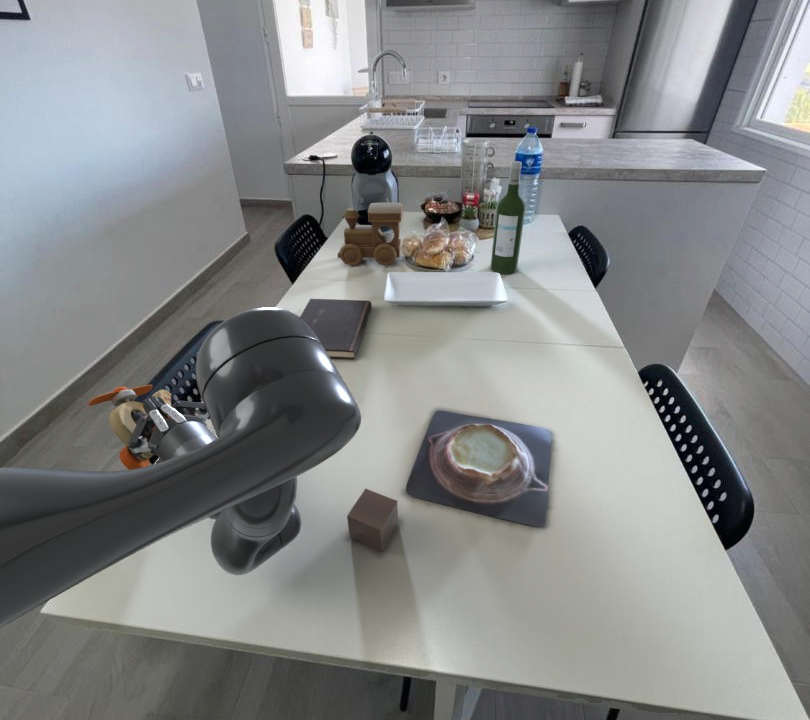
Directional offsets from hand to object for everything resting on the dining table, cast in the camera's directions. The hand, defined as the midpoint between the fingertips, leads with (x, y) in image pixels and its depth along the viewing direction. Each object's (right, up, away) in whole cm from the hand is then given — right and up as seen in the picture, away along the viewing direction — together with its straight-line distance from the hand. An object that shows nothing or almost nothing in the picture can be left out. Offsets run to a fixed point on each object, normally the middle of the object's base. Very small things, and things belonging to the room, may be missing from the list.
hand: (150, 401), depth 74 cm
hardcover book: (+25, +14, +33) cm, 43 cm away
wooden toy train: (+32, +39, +67) cm, 84 cm away
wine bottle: (+72, +34, +60) cm, 100 cm away
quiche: (+55, -10, -1) cm, 56 cm away
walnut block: (+38, -17, -11) cm, 43 cm away
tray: (+53, +24, +46) cm, 74 cm away
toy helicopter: (+1, -8, +5) cm, 9 cm away
